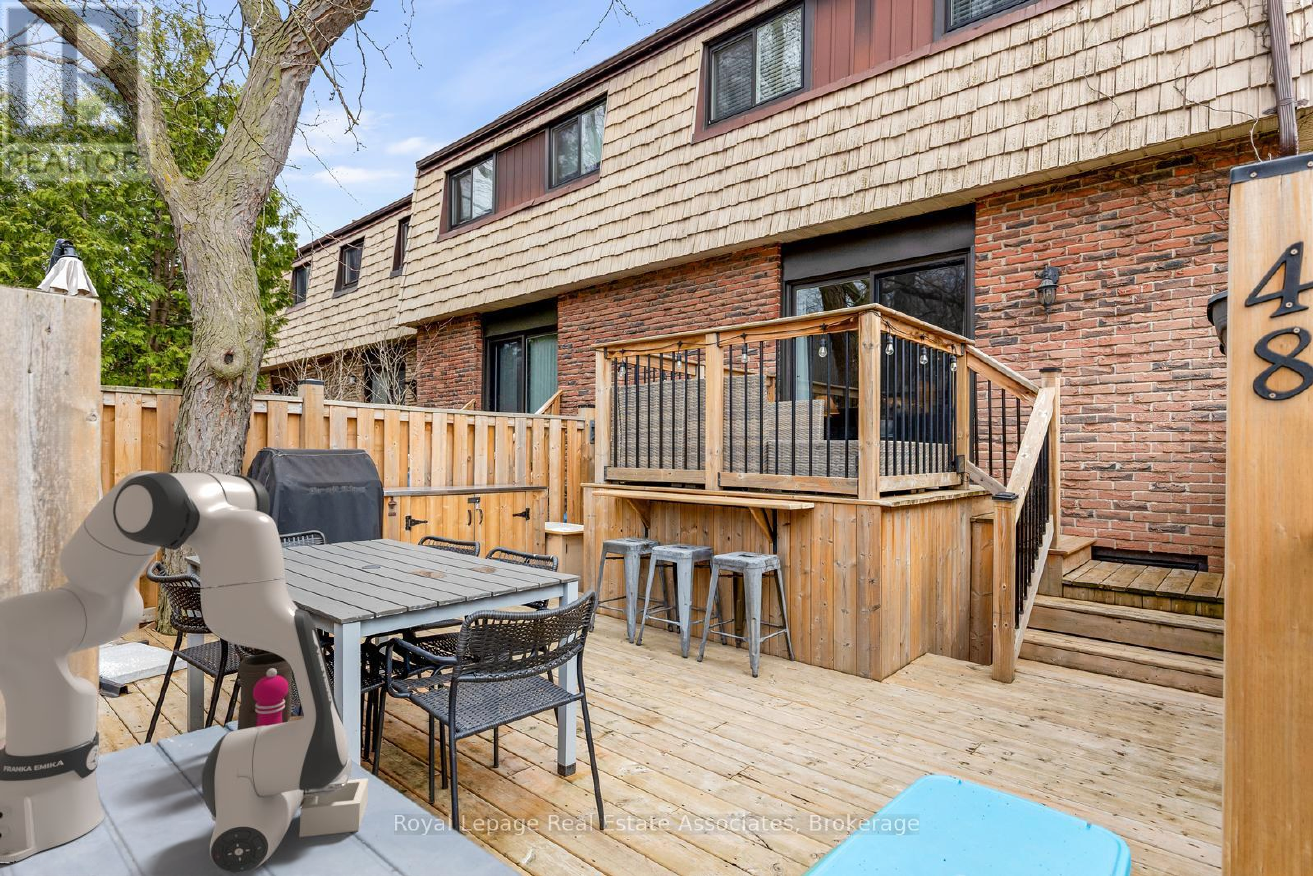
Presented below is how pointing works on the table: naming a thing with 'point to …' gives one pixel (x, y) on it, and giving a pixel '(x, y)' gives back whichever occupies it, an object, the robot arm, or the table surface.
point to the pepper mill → (270, 698)
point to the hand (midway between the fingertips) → (296, 757)
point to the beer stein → (250, 675)
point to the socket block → (335, 810)
